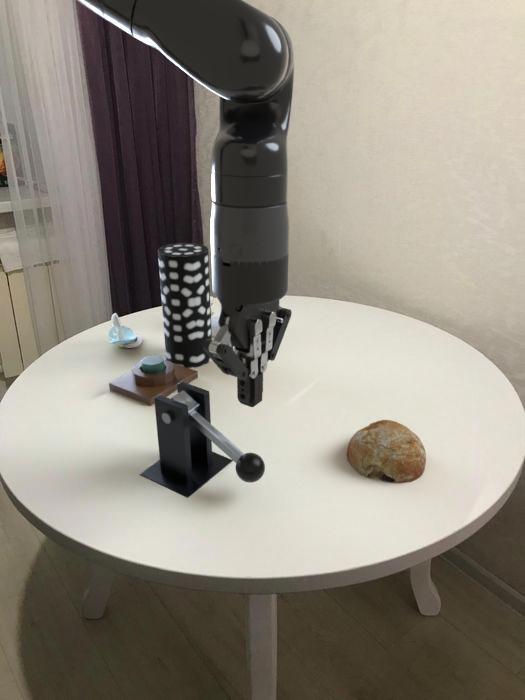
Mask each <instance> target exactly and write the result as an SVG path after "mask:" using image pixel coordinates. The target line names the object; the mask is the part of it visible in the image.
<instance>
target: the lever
mask: <svg viewBox="0 0 525 700" xmlns="http://www.w3.org/2000/svg"><path fill="white" fill-rule="evenodd" d="M170 399H173V400H175V401H178V402H181V403H183V404H186V405H188V418H189V421H190V422H191V423H192V424H193V425H194V426H195V427H196V428H198V429H199V430H200V431H201V432H202V433H203V434H204V435H205V436H206V437H208V438H209V439H210V440H211V441H212V444H213V445H215V446H216V447H217V448H218V449H220V450H221V452H223V453H224V454H225V455H226V456H227V457H228V458H229V459H231V460H233V461H232V462H234V463H235V473H236V475H237V477H238V478H239V479H240V480H241V481H242V482H245V483H251V484H252V483H255V482H258V481H260V479H262V478H263V476H264V474H265V471H266V465H265V462H264V459H263V458H262V457H261V456H260V455H259V454H257V453H255V452H246V453H244V452H243V451H242V450H240V448H238V446H236V445H235V443H233V442H232V441H231V440H229V439H228V438H227V437H226V436H225V435H224V434H222V432H220V430H218V429H217V428H216V427H215V426H213V424H212V423H211V424H210V423H209V422H208V421H207V420H206V419H204V418H203V417H202V416H201V415H200V414H199V413H198V412H197V409H198V407H199V405H200V404H199V403H197V402H196V401H195V400H194V399H193V398H192V397H191V396H190V395H188V394H187V393H186V392H185V391H184V390H183V391H181V392H180V393H178V392H177V393H176V394H175V395H173V396H171V398H170Z"/></svg>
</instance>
